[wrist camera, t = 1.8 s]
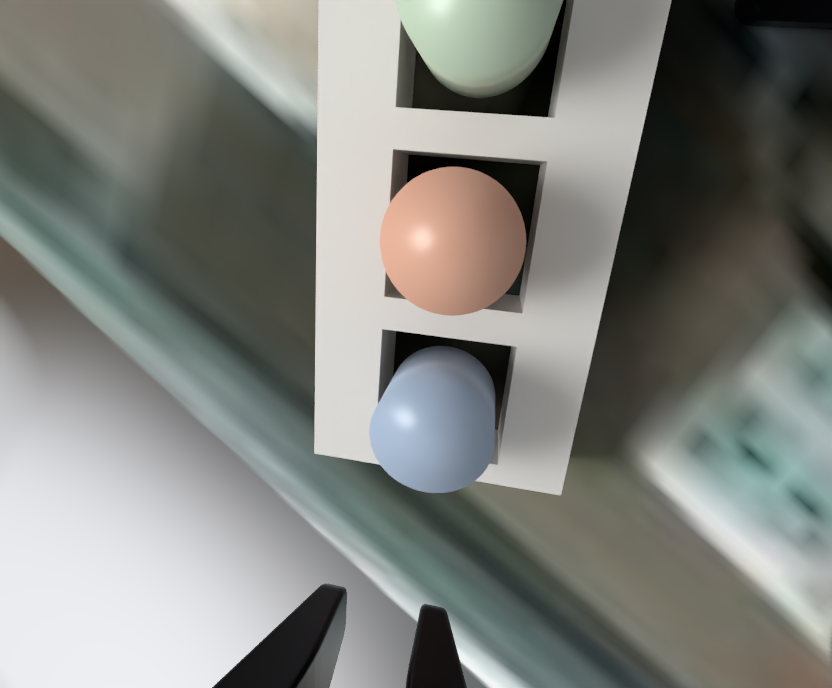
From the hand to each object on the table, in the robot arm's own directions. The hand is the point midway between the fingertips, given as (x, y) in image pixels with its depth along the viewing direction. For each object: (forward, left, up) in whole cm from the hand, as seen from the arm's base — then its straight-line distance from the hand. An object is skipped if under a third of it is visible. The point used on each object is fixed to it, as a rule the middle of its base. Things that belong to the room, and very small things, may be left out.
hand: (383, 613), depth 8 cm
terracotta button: (0, -5, -9) cm, 10 cm away
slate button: (0, 0, -9) cm, 9 cm away
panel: (0, -5, -11) cm, 12 cm away
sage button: (0, -11, -9) cm, 14 cm away
